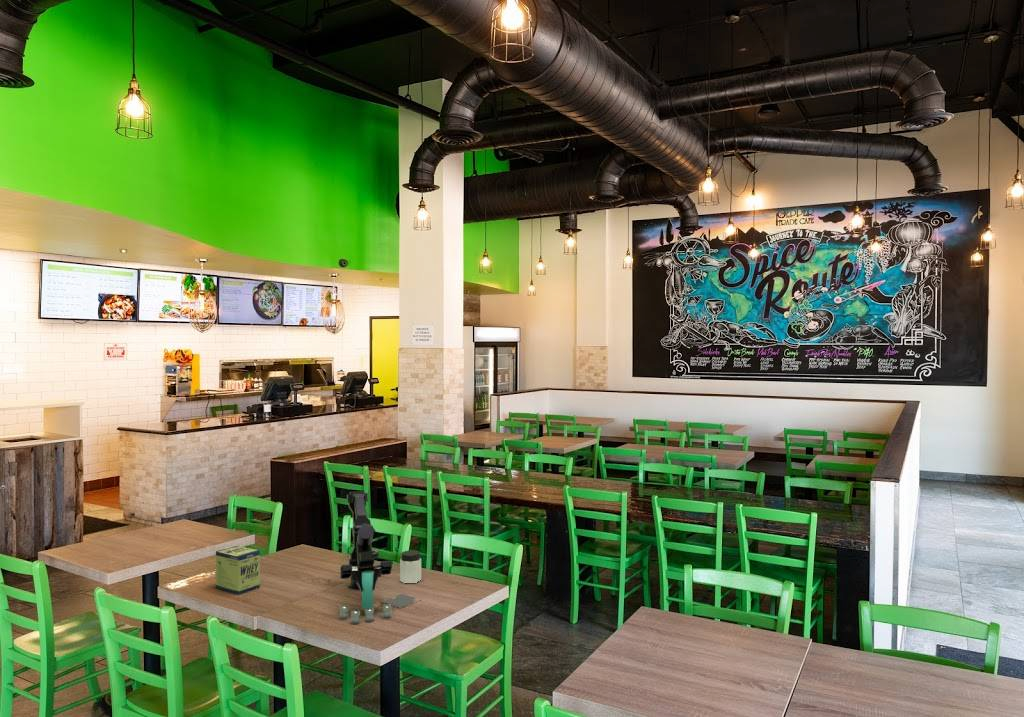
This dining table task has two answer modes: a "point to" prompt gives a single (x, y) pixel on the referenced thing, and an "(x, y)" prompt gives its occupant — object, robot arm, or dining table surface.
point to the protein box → (237, 569)
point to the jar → (410, 566)
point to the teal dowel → (367, 589)
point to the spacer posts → (368, 613)
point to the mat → (400, 600)
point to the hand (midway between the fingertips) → (367, 590)
